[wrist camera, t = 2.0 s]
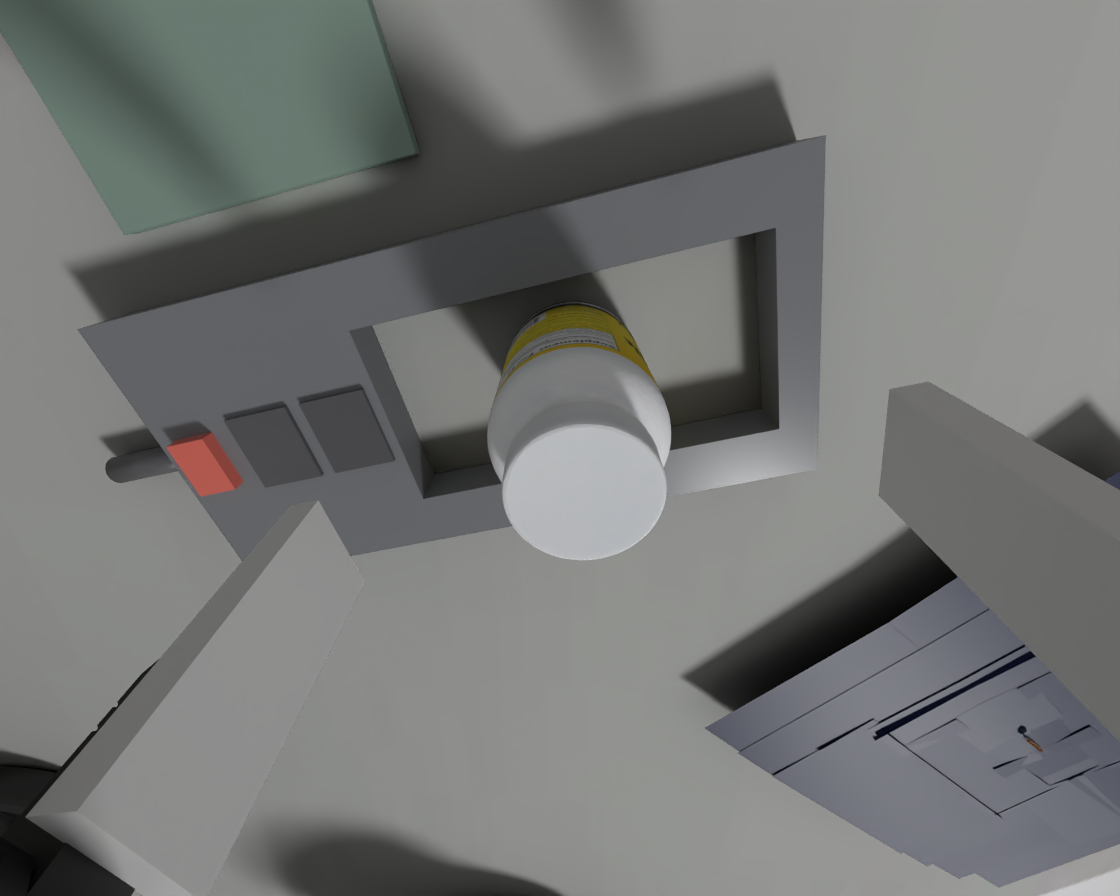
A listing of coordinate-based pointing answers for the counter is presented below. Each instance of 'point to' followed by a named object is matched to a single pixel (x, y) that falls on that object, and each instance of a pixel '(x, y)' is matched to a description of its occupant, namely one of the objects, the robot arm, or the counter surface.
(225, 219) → the counter surface
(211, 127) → the rubber mat
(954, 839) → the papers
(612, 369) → the supplement bottle
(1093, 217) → the counter surface
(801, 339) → the rectangular frame
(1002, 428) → the robot arm
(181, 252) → the counter surface
